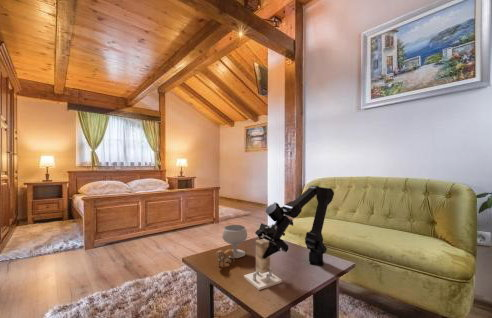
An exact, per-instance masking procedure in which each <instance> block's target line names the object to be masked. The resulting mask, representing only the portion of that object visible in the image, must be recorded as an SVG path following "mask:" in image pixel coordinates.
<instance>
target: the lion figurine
mask: <svg viewBox="0 0 492 318" xmlns="http://www.w3.org/2000/svg"><path fill="white" fill-rule="evenodd" d="M229 256H230V257H231V258H229ZM215 259H216V262H218V263H217V264H218V265H217V267H219V268H220V267H221V263H222V268H223V269H224V268H226V265H225V264H226V263H227V262H228V261H229V259H233V260H232V262H233V263H234V262H236V258H235V257H234V256H233V251H232V249H229V248H228V249H227V250H225V251H223V250H220V249H219V250H217V251H216V253H215Z"/></svg>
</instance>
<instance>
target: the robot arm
mask: <svg viewBox="0 0 492 318" xmlns="http://www.w3.org/2000/svg"><path fill="white" fill-rule="evenodd" d="M334 196H335V192H334V190H333V189H332V188H331V187H323V186H318V185H310V186H308V188H307V189H306V190H305V191H304V192H303V193H302V194H301V195H299V196H298V197H297V198H296V199H295V200H292V201H289V202H287V203H286V204H284V205H283V206H280V204H279V203H278V202H273V203H272V204H270V205H269V206H267V207H266V208H265V214H267V215H268V216H269V218H270V219H271V220H272V221H273V222H274V224H273V223H272V224H271V223H270V224H269V225H267V224H265V223H262V222H261V223H260V226H259V228H258V229H257V230H256V231H255V233H254V234H255V235H256V236H257V237H258V240H260V239H265V240H267V241H269V247H268V248H267V250H266V252H265V253H264V255H263V258H264V259H265V258H267V257H269V256H270V257H271V256H272V255H274V254H275V253H278V252H281V251H282V252H284V253H287V252H288V250H289V245H288V244H287V243H286V242H285V241H284V239H281V238H282V237H283V236H286V233H285V231H286V230H287V229H288V227H289V226H292V227H293V226H294V222H293V221H294V220H293V219H296V218H298V217H299V215H301V213H302V210H303V208H304V207H305V205H308V203H309V202H310V201H311V200H312V199H313V198H315V197H316V201H317V206H316V210H315V214H314V218H313V222H312V227H311V230H310V231H307V232H306V234H305V238H304V244H305V246H306V249H308V250H310V251H309V252H308V262H309V264H310V265H316V266H322V267H323V266H324V255H325V253H326V252H327V250H328V248H327V246H326V245H324V237H323V234H322V233H323V232H322V231H323V227H324V222H325V219H326V214H327V209H328V206H329V205H330V204H331V202H332V201H333V199H334Z"/></svg>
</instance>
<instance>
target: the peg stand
mask: <svg viewBox="0 0 492 318" xmlns="http://www.w3.org/2000/svg"><path fill="white" fill-rule="evenodd" d="M272 269H273V268H272V267H270V271H269V272H266V273H263V274H261V273H260V272H258V271H257V270H256V269H255V271H254V272H251V273H247V274H244V275H243V278H244V279H245V280H246V281H248V282H249V283H250V284H251V285H252V286H253V287H255V288H256V289H257V290H258V291H260V290H263V289H266V288H270V287H273V286H275V285H278V284H281V283H282V282H283V280H282V279H281V278H280V277H278V276H276V274H274V273H273V270H272Z"/></svg>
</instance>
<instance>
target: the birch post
mask: <svg viewBox="0 0 492 318" xmlns="http://www.w3.org/2000/svg"><path fill="white" fill-rule="evenodd" d="M268 247H269V241H267V240H265V239H260V240H259V239H256V240H255V271H256V270H257V271H258V272H260V273H261V274H263V273H266V272H269V271H270V268H271V255H270V256H269V257H267V258H265V259H264V258H263V255H264V253H265V252H266V250H267V248H268Z"/></svg>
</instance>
